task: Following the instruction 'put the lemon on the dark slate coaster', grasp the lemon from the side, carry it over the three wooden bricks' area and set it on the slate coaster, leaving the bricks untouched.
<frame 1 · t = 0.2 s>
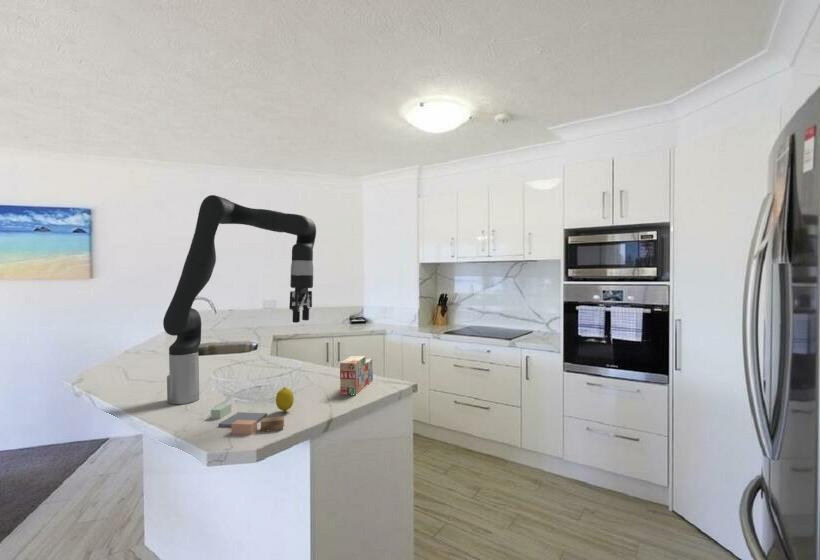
hand: (300, 321, 135), 29 cm above the worktop, tool pointing down, fingers open, 8 cm apart
brick sage: (221, 416, 125), on the worktop
coaster: (243, 420, 120), on the worktop
brick terracotta: (244, 432, 111), on the worktop
stack of blocks: (357, 388, 155), on the worktop
brick walnut: (272, 429, 113), on the worktop
lemon: (285, 412, 127), on the worktop
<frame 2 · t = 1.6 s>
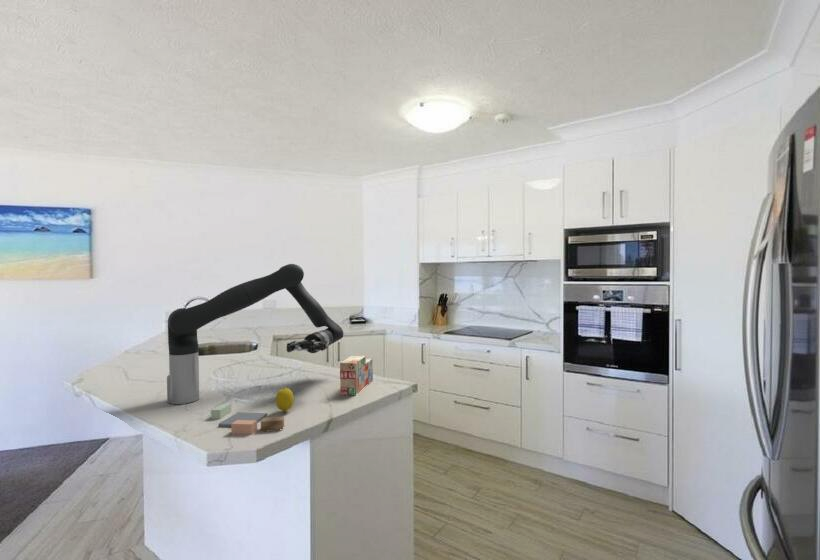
hand: (299, 349, 139), 18 cm above the worktop, tool horizontal, fingers open, 8 cm apart
nothing on the worktop moved.
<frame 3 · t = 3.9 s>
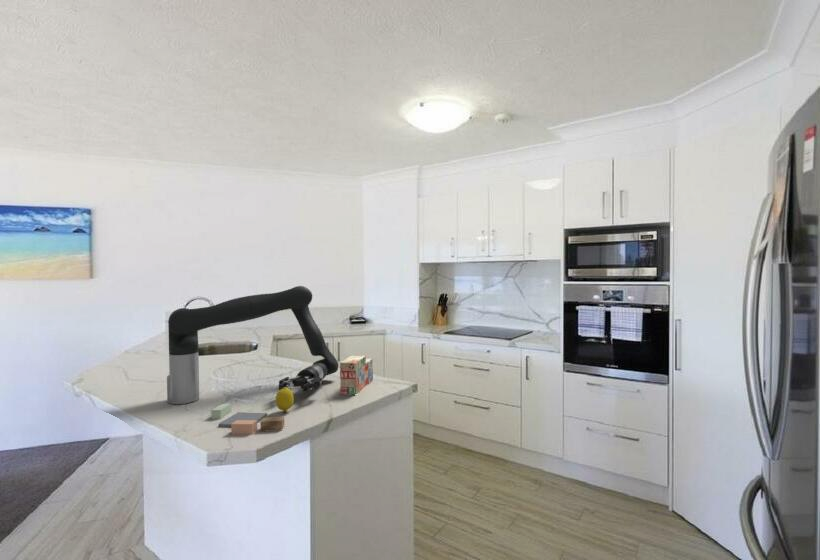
hand: (292, 388, 133), 6 cm above the worktop, tool horizontal, fingers open, 8 cm apart
nothing on the worktop moved.
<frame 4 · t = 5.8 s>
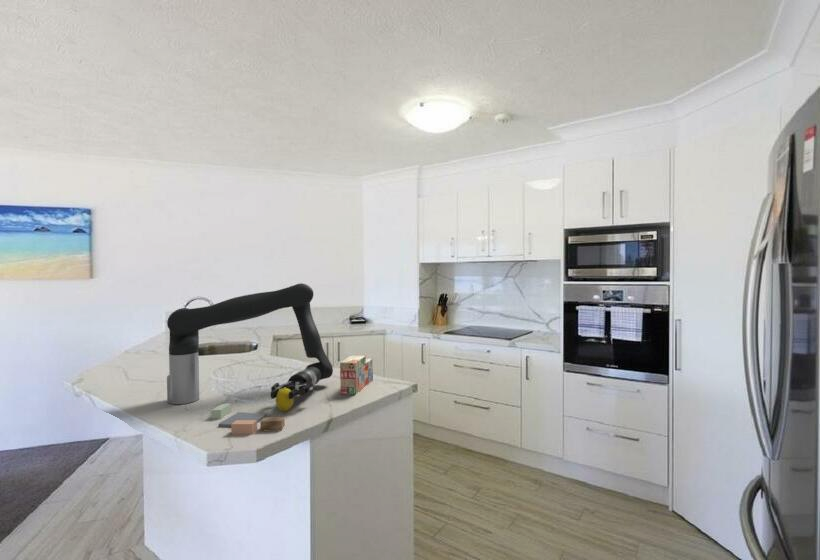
hand: (281, 395, 125), 6 cm above the worktop, tool horizontal, fingers closed on lemon, 5 cm apart
lemon: (285, 412, 127), on the worktop, touching gripper
everything else where it was.
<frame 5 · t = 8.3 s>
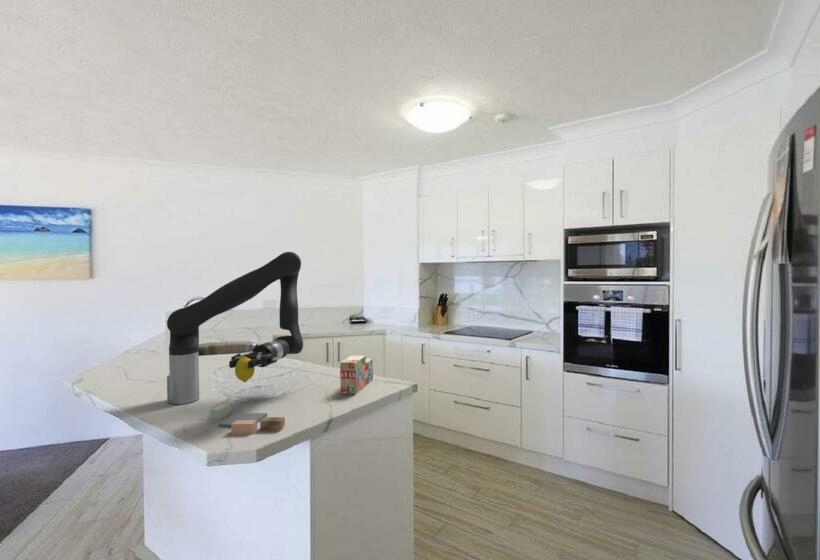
hand: (240, 364, 117), 18 cm above the worktop, tool horizontal, fingers closed on lemon, 5 cm apart
lemon: (245, 383, 120), point 11 cm above the worktop, touching gripper
everything else where it was.
when the fingers open (8 cm above the worktop, at t = 10.8 s): lemon stays where it is, resting on coaster.
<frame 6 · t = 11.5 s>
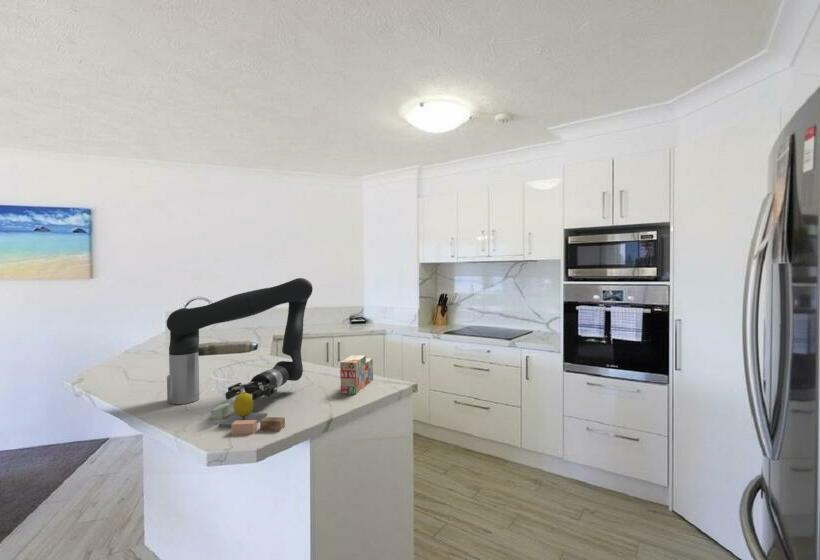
hand: (240, 396, 118), 8 cm above the worktop, tool horizontal, fingers open, 8 cm apart
lemon: (243, 418, 120), point 1 cm above the worktop, touching coaster
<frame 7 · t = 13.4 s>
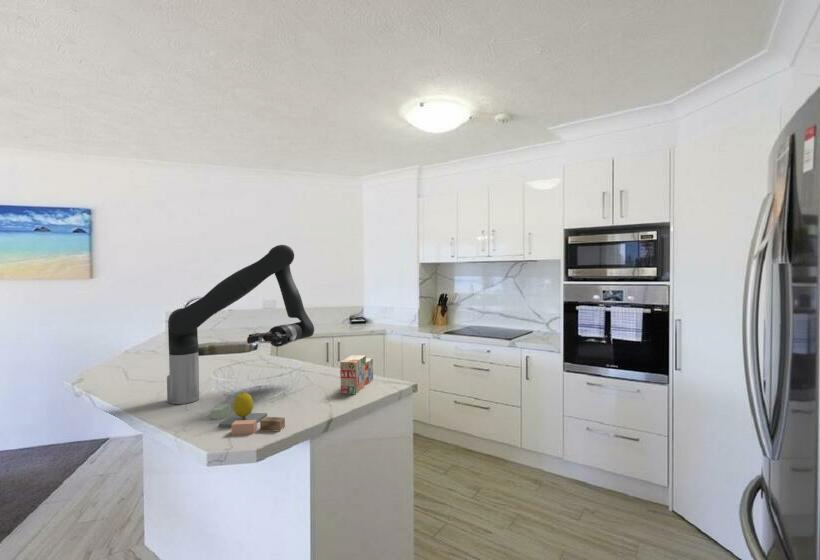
hand: (260, 340, 130), 23 cm above the worktop, tool horizontal, fingers open, 8 cm apart
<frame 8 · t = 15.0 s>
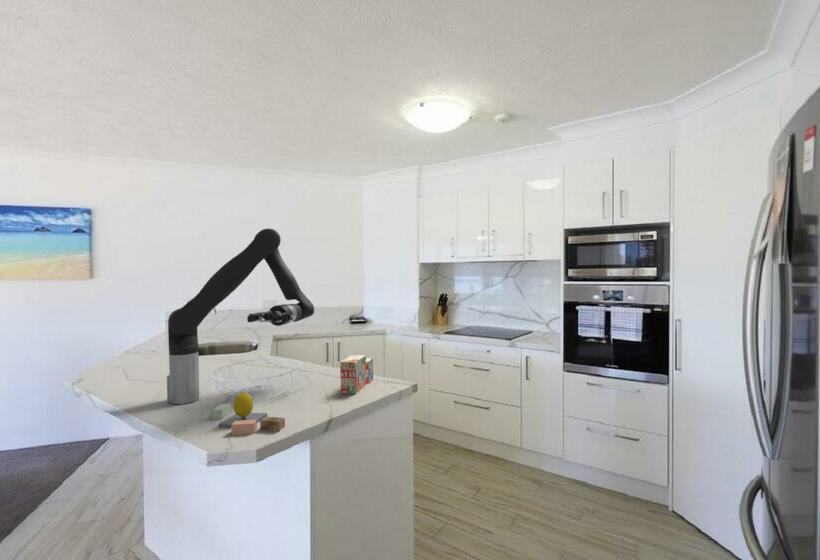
hand: (260, 319, 130), 30 cm above the worktop, tool horizontal, fingers open, 8 cm apart
at the end: lemon inside the target area on the coaster (0.1 cm from its centre), point 0.6 cm above the coaster's base; brick sage moved 0.2 cm from its start; brick terracotta moved 0.2 cm from its start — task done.
